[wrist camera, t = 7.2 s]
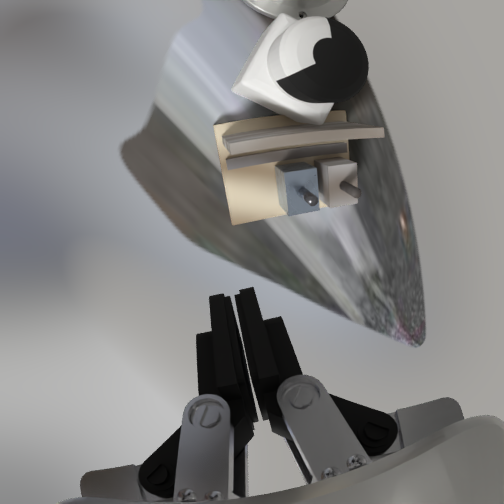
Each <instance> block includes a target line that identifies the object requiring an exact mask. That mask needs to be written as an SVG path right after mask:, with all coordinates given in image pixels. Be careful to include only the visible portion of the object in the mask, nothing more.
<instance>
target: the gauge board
mask: <svg viewBox="0 0 504 504" xmlns="http://www.w3.org/2000/svg"><path fill="white" fill-rule="evenodd" d="M213 126H214V132H215V137H216V143H217V148H218V153H219V159H220V164H221V170H222V175H223V180H224V185H225V191H226V196H227V201H228V206H229V212H230V217H231V222H232V225H237V224H242V223H246V222H251V221H256V220H261V219H266V218H271V217H276V216H281V215H286V214H287V213H286V212H285V211H284V210H283V209H282V207H281V206H280V205H279V198H278V190H277V182H276V174H275V166H278V165H284V164H291V163H297V162H306V163H308V164H310V165H312V166H314V167H316V168H317V178H318V192H319V208H322V207H329V208H334V207H339V206H345V205H350V204H356V203H358V198H359V197H360V196H361V190H360V189H359V188H358V187H357V163H356V162H353V161H351V160H349V145H348V139H363V138H381V137H384V128H383V127H378V126H372V125H366V124H359V123H352V122H347V120H346V111H344V110H335V111H330V112H329V114H328V116H327V118H326V119H325V121H324V123H323V124H322V125H315V124H308V123H300V122H296V121H294V120H292V119H290V118H288V117H287V116H285V115H274V116H266V117H259V118H252V119H245V120H239V121H233V122H227V123H222V124H216V125H213Z"/></svg>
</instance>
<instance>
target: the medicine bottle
mask: <svg viewBox="0 0 504 504" xmlns="http://www.w3.org/2000/svg"><path fill="white" fill-rule="evenodd" d="M367 76H368V58H367V54H366V51H365V49H364V46H363V44H362V43H361V41H360V40H359V38H358V37H357V36H356V35H355V33H354V32H353V31H351V30H350V29H349V28H348V27H347V26H345V25H344V24H342V23H340V22H338V21H336V20H334V19H331V18H327V17H320V16H312V17H306V18H303V19H300V20H297V19H295V18H293V17H291V16H289V15H287V14H285V13H281V14H279V15H278V16H277V18H276V19H275V20H274V21H273V22H272V23H271V24H270V25H269V27H268V28H267V29H266V30H265V31H264V32H263V34H262V35H261V36H260V38H259V40H258V41H257V43H256V45H255V46H254V48H253V50H252V52H251V53H250V55H249V57H248V59H247V60H246V62H245V64H244V66H243V67H242V69H241V71H240V73H239V75H238V77H237V78H236V80H235V82H234V84H233V86H232V88H231V90H232V92H233V93H236V94H238V95H240V96H242V97H244V98H247V99H249V100H251V101H253V102H255V103H257V104H259V105H261V106H263V107H265V108H268V109H270V110H272V111H274V112H275V113H277V114H279V115H285V116H287V117H288V118H290V119H292V120H294V121H296V122H300V123H308V124H315V125H322V124H323V123H324V121H325V119H326V118H327V116H328V114H329V112H330V110H331V108H332V106H333V104H334V103H338V102H343V101H346V100H348V99H350V98H352V97H354V96H355V95H356V94H357V93H358V92H359V91H360V90H361V89H362V87H363V86H364V84H365V82H366V79H367Z"/></svg>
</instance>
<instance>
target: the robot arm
mask: <svg viewBox="0 0 504 504" xmlns="http://www.w3.org/2000/svg"><path fill="white" fill-rule="evenodd" d="M242 1H243V2H244V3H245V4H247V5H248V6H249V7H251V8H252V9H254V10H255V11H257V12H259V13H261V14H263V15H265V16H267V17H270V18H273V19H276V18H277V16H278V15H279V14H281V13H285V14H287V15H289V16H291V17H293V18H295V19H297V20H300V19H303V18H306V17H312V16H320V17H327V18H330V17H332V16H334V15H335V14H337V13H338V12H340V10H341V9H342V8H343V7H344V6H345V5H346V3H347V1H348V0H242ZM299 16H301V17H302V18H301V17H299ZM239 291H240V294H237V295H235V301H236V306H237V312H238V316H239V322H240V327H241V332H242V337H243V342H244V347H245V352H246V357H247V362H248V367H249V371H250V376H251V380H252V384H253V387H254V391H255V394H256V398H257V401H258V405H259V408H260V411H261V415H262V417H263V420H268V419H269V421H270V425H271V428H272V432H274V433H276V434H278V435H280V436H282V437H284V440H285V442H286V444H287V446H288V448H289V450H290V452H291V454H292V456H293V458H294V460H295V462H296V464H297V466H298V468H299V470H300V472H301V474H302V476H303V478H304V480H305V482H306V484H307V485H304V486H301V487H297V488H292V489H288V490H284V491H279V492H274V493H270V494H264V495H258V496H251V497H248V445H247V443H248V442H249V441H250V440H251V439H252V437H253V436H254V433H253V430H254V425H253V422H258V416H257V412H256V407H255V402H254V398H253V393H252V388H251V383H250V378H249V373H248V369H247V364H246V359H245V355H244V350H243V344H242V341H241V337H240V333H239V329H238V325H237V322H236V318H235V314H234V310H233V306H232V302H231V298H230V296H227V297H225V296H224V294H218V295H213V296H210V297H209V303H210V316H211V328H212V331H210V332H205V333H200V334H197V335H196V346H197V347H196V348H197V372H198V391H199V396H198V397H195V398H194V399H192V400H191V401H190V402H189V403H188V404H187V405H186V407H185V409H184V412H183V419H182V425H181V426H180V428H179V429H177V430H176V431H175V432H174V434H172V435H171V436H170V437H169V439H167V440H166V441H165V442H164V443H163V444H162V445H161V446H160V447H159V448H158V449H157V450H156V451H155V452H154V453H153V454H152V455H151V456H150V457H149V458H148V459H147V460H145V461H144V463H143V464H141V465H137V466H135V465H133V464H132V465H127V466H121V467H115V468H109V469H103V470H95V471H90V472H87V473H85V474H84V475H83V476H82V478H81V481H80V489H81V495H82V497H78V498H70V499H66V500H63V501H61V502H58V503H56V504H504V422H503V421H502V420H500V419H499V418H497V417H495V416H490V415H483V416H476V417H471V418H467V419H464V416H463V413H462V410H461V407H460V405H459V404H458V402H457V401H455V400H454V399H452V398H449V397H446V398H440V399H437V400H433V401H430V402H426V403H423V404H419V405H415V406H411V407H407V408H403V409H398V410H396V412H394V413H389V414H386V413H384V412H381V411H378V410H375V409H371V408H369V407H366V406H363V405H360V404H357V403H354V402H351V401H348V400H345V399H342V398H339V397H337V396H334V395H332V394H329V393H328V392H327V390H326V389H325V387H324V386H323V384H322V383H321V382H320V381H319V380H318V379H316V378H314V377H312V376H308V375H303V374H302V371H301V368H300V366H299V363H298V360H297V357H296V355H295V352H294V349H293V346H292V344H291V341H290V338H289V336H288V333H287V330H286V327H285V325H284V322H283V319H282V317H281V316H280V317H276V318H271V319H267V320H263V318H262V315H261V311H260V308H259V305H258V301H257V298H256V294H255V291H254V287H251V288H246V289H242V290H239Z"/></svg>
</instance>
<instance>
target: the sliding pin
mask: <svg viewBox="0 0 504 504" xmlns="http://www.w3.org/2000/svg"><path fill="white" fill-rule="evenodd" d="M275 174H276V182H277V190H278V198H279V205H280V206H281V207H282V209H283V210H284V211H285V212H286V213H287V215H288V216H292V215H297V214H302V213H307V212H313V211H318V210H320V208H319V192H318V178H317V168H316V167H314V166H312V165H310V164H308V163H306V162H297V163H291V164H284V165H278V166H275Z"/></svg>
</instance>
